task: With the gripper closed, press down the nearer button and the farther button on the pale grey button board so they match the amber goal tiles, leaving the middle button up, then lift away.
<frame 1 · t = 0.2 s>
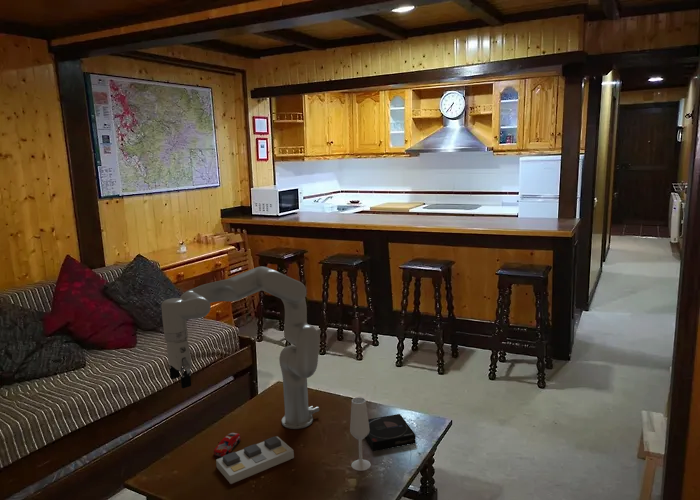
hand: (180, 382, 184), 31 cm above the table, fingers open, 9 cm apart
button board: (255, 462, 188), on the table
portable cd player: (386, 437, 203), on the table
button 2: (272, 444, 194), point 3 cm above the table, slide at 0.0 cm
button 1: (231, 460, 185), point 3 cm above the table, slide at 0.0 cm
button mid: (252, 452, 189), point 3 cm above the table, slide at 0.0 cm
race car: (227, 448, 199), on the table
champagne flute: (361, 465, 185), on the table
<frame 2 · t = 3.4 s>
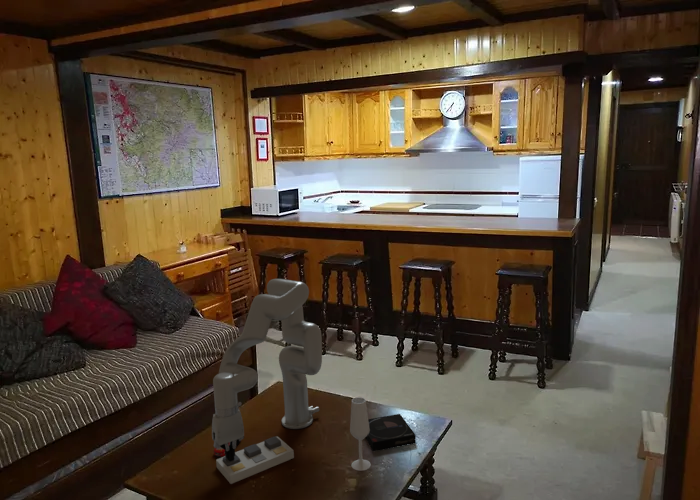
hand: (230, 458, 184), 4 cm above the table, fingers closed
button 1: (231, 462, 185), point 2 cm above the table, slide at 0.6 cm, touching gripper
everything else where it was.
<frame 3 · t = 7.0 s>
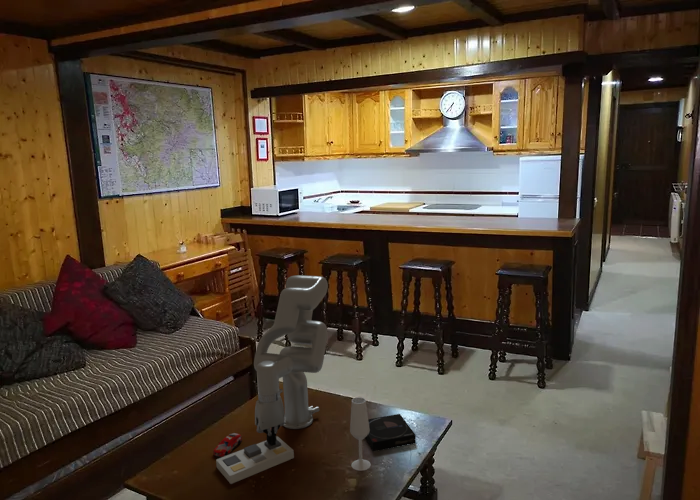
hand: (271, 443, 193), 4 cm above the table, fingers closed
button 2: (272, 446, 194), point 2 cm above the table, slide at 0.8 cm, touching gripper
button 1: (231, 464, 185), point 2 cm above the table, slide at 1.4 cm
everything else where it was.
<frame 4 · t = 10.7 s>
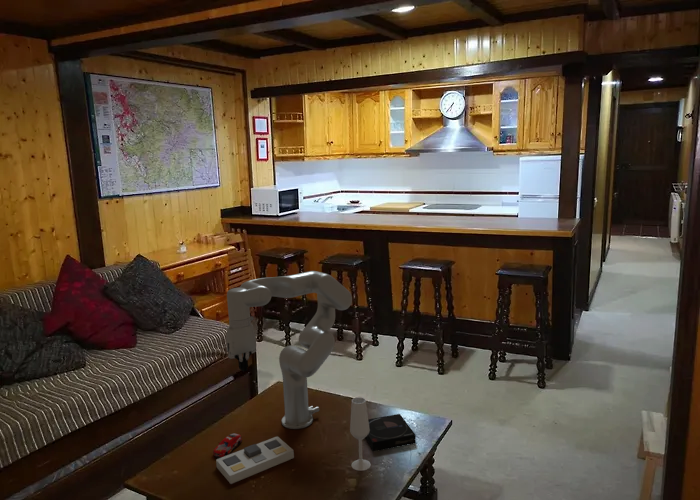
hand: (243, 370, 196), 29 cm above the table, fingers closed
button 2: (273, 448, 194), point 2 cm above the table, slide at 1.4 cm
everything else where it was.
at the end: button 1 slide at 1.4 cm; button 2 slide at 1.4 cm; button mid slide at 0.0 cm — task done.
